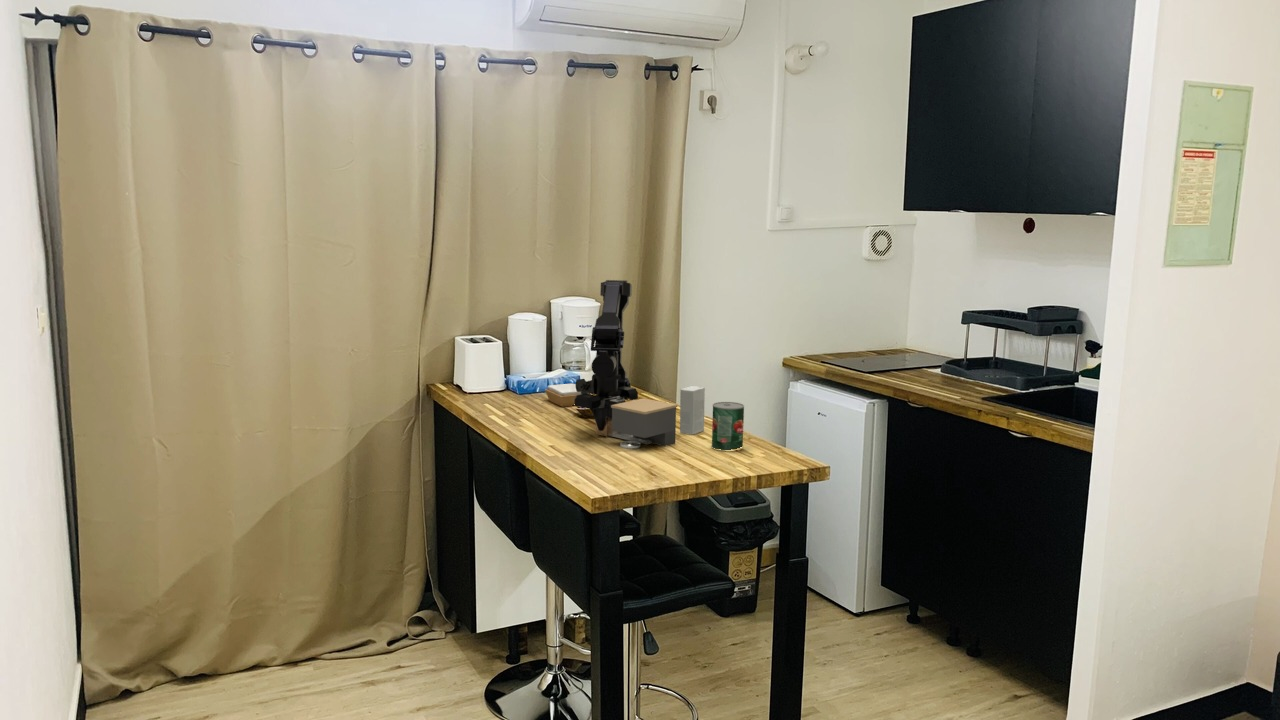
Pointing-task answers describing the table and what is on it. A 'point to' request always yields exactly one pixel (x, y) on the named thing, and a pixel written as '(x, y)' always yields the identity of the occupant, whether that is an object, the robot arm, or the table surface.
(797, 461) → the table surface
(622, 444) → the token
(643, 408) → the cabinet
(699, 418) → the skincare box
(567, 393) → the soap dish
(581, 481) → the table surface
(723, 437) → the canned tomato
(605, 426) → the brown block with rod
